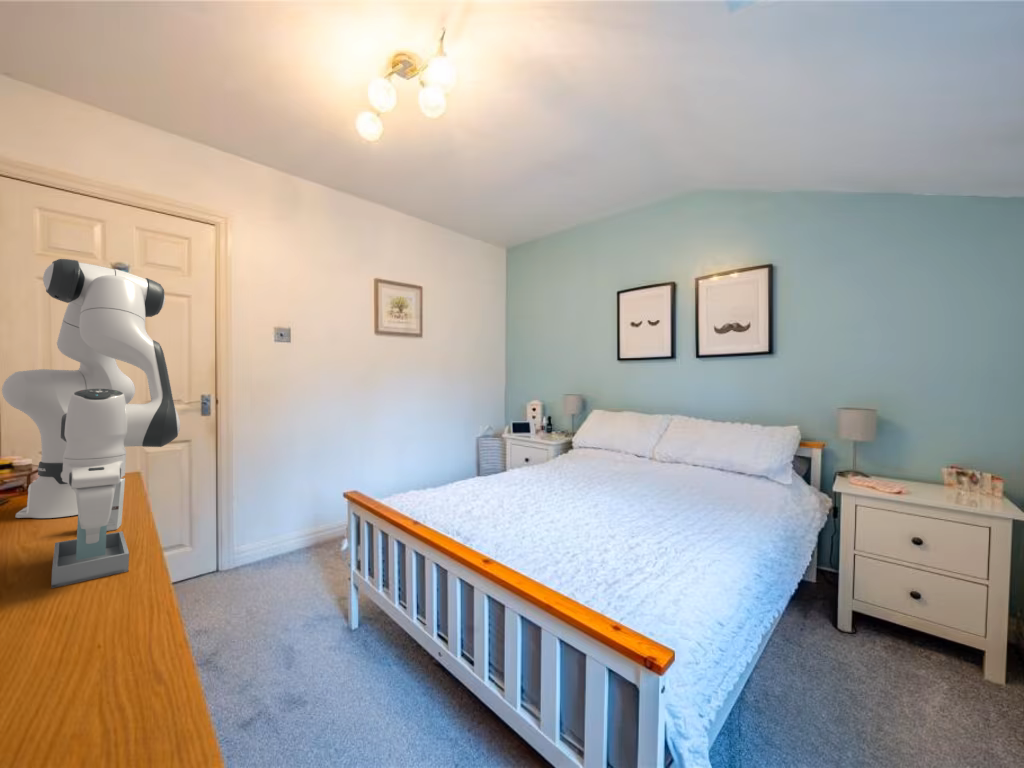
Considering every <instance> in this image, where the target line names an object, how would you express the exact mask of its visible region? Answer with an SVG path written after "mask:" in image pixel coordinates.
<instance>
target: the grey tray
mask: <svg viewBox="0 0 1024 768" xmlns="http://www.w3.org/2000/svg"><path fill="white" fill-rule="evenodd" d="M76 547H77V538H73V539H71V540H64V541H62V540H61V541H58V542H57V541H56V542H54V548H53V549H54V550H53V559H52V568H51V586H50V589H55V588H59V587H64V586H68V585H73V584H77V583H81V582H82V583H83V582H86V581H91V580H96V579H99V578H104V577H108V576H113V575H117V574H121V573H125V572H126V573H127V572H129V563H130V562H129V561H130V552H129V549H128V544H127V542H126V539H125V534H124V531H122V530H121V531H117V532H116V531H115V532H111V533H106V553H105V555H100V556H95V557H90V558H85V559H80V560H76Z"/></svg>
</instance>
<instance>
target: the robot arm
mask: <svg viewBox="0 0 1024 768" xmlns="http://www.w3.org/2000/svg"><path fill="white" fill-rule="evenodd" d="M42 277H43V278H42V282H43V285H44V287H45V291H46V293H47V295H49V296H50V297H51V298H53V299H56V300H58V301H60V302H63V303H67V304H68V305H67V306H66V310H65V312H64V314H63V315H64V316H63V319H62V322H61V326H60V329H59V334H58V338H57V341H56V345H57V349H58V350H59V351H60V353H61V354H62V355H64V356H65V357H67V358H70V359H71V360H73V361H76V362H77V363H79V364H80V365H79V368H78V369H75V370H74V369H73V370H69V369H45V368H41V369H39V368H38V369H30V370H22V371H15V372H13V373H12V374H11V375H9V376H8V377H7V378H6V379H5V381H4V382H3V385H2V388H1V392H2V393H1V394H2V396H3V399H4V400H5V402H6V403H7V404H8V405H10V406H11V407H13V408H14V409H16V410H18V411H21V413H24V414H25V415H27V417H29V418H30V419H31V420H32V421H33V422H34V423H35V425H36V427H37V429H38V430H39V433H40V443H41V444H40V445H41V460H40V461H39V462H38V465H37V475H38V477H37V479H35V480H34V481H33V482H31V483H30V484H29V485H28V488H27V500H26V503H27V504H26V506H25V507H23V508H22V509H21V510H19V511H17V512H16V513H15V518H17V519H20V518H21V519H22V518H23V519H24V518H32V519H52V518H53V519H55V518H64V517H70V516H71V517H73V516H77V517H78V516H79V523H80V527H81V529H86V544H92V543H96V542H98V541H99V533H100V528H101V527H102V526H106V525H107V524H108V522H109V518H110V514H111V509H112V504H113V498H114V493H115V487H116V484H119V483H120V479H121V478H124V476H126V461H127V460H126V459H127V449H126V448H127V447H129V448H130V447H144V448H145V447H146V448H149V447H151V448H162V447H164V446H166V445H168V444H169V443H171V442H173V441H174V440H175V439H177V437H178V434H180V429H181V420H180V416H179V413H178V410H177V408H176V406H175V403H174V398H173V391H172V386H171V380H170V376H169V371H168V366H167V363H166V359H165V354H164V353H165V352H164V350H163V348H162V345H161V344H160V342H158V341H156V340H154V339H152V338H151V336H150V335H149V333H147V329H146V318H152V317H155V316H156V315H158V314H159V313H160V312H161V310H162V309H163V308H164V306H165V304H166V294H165V289H164V287H163V286H162V285H161V283H159V282H157V281H155V280H153V279H150V278H148V277H141V276H138V275H136V274H133V273H131V272H126V271H123V270H120V269H116V268H109V267H107V266H106V267H105V266H100V265H96V264H91V263H86V262H79V260H75V259H69V258H67V259H66V258H58V259H56V260H53V261H52V263H51V264H49V266H47V267H46V269H45V270H44V272H43V276H42ZM117 360H118V361H121V362H124V363H127V364H130V365H132V366H135V367H136V368H138V369H140V370H141V371H143V372H144V374H145V375H146V378H147V379H146V380H147V384H148V389H149V395H150V401H149V402H146V403H130V402H131V401H132V400H133V398H134V397H135V394H136V387H135V384H134V383H135V382H134V381H133V380H132V379H131V378H130V377H129V376H128V375H127V374H126V373H124V372H123V371H122V370H121V369H120V367H119V366H118V363H117Z"/></svg>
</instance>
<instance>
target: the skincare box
mask: <svg viewBox="0 0 1024 768" xmlns="http://www.w3.org/2000/svg"><path fill="white" fill-rule="evenodd" d="M125 483H126V478H125V477H122V478H121V479H120V483H119V484H116V487H115V493H114V498H113V504H112V509H111V514H110V518H109V522H108V524H107V531H106V532H108V531H115V530H118V529H119V528H121V527H120V526H121V525H122V523H123V522H122V520H123V510H124V509H123V507H124V494H125V486H126V484H125Z"/></svg>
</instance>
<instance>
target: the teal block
mask: <svg viewBox="0 0 1024 768" xmlns="http://www.w3.org/2000/svg"><path fill="white" fill-rule="evenodd" d="M107 532H108V531H107V525H106V526H102V527H101V528H100V533H99V541H98V542H96V543H92V544H86V529H81V527H80V523H79V516H78V515H77V526H76V539H77V547H76V560H80V559H85V558H90V557H95V556H100V555H105V553H106V534H107Z"/></svg>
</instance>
